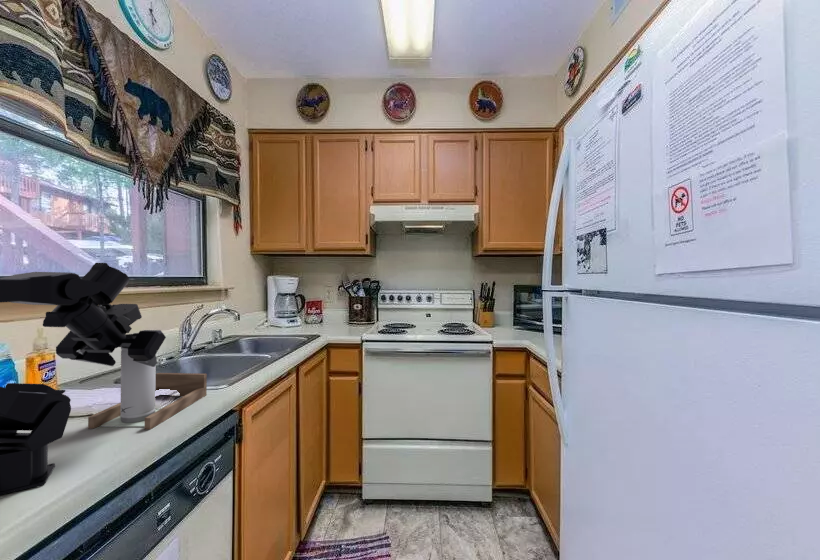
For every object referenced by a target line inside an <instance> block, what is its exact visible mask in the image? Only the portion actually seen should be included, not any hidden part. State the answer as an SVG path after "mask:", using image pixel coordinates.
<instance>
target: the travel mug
mask: <svg viewBox="0 0 820 560" xmlns="http://www.w3.org/2000/svg"><path fill="white" fill-rule="evenodd" d="M138 333H139V332H133V333H126V334H125V335H126V336H137V335H138ZM128 348H129V347H120V349H121V350H120V403H121V415H120V416H121V421H122V422H124V423H135V422H140V421H144V420H145V418H146V417H148V416H149V415H151V414H153V413H155V409H156V398H155V389H156V374H157V372H156V370H157V369H156V366H157V364H156V365H155V367H151V366H148V365H145V364H142V363H138V362H135V361H133V358H130V357H129V356H128Z"/></svg>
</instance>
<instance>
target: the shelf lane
mask: <svg viewBox="0 0 820 560" xmlns="http://www.w3.org/2000/svg"><path fill="white" fill-rule="evenodd" d="M207 378H208V374H207V373H197V372H196V373H193V372H192V373H191V372H190V373H189V372H188V373H187V372H186V373H185V372H156V389H155V391H156V390H159V389H170V390H177V391H178V392H179V393H180V396H179V398H177V399H176V400H174V401H173V402H171V403H169V404H168V405H166V406H164V407H162V408H160V409H159V408H158V409H156V408H155V413H153V414H151V415H149V416H148V417H146V418H145V420H144V421H140V422H135V423H124V422H122V421H121V402H119V403H117V404H114V405H112V406H110V407H108V408H105V409H103V410H101V411H98V412H95V414H92V415H90V416H88V417H87V428H88V430H89V429H90V430H92V429H94V430H95V429H96V428H99V427H100V426H101V427H111V428H115V427H117V428H119V427H120V428H144V430H147V431H148V430H152V429H153V428H156V427H157V426H159V425H160V424H162V423H164V422H165V421H167V420H168V419H171V418H172V417H173V416H175V415H176V414H178V413H180V412H182V411H184V410H185V409H186V408H187V407H190V406H191V405H193V404H195V403H196V402H198V401H200V400H201V399H203V398H204V397H205V396H207V390H208V389H207V383H208V379H207Z"/></svg>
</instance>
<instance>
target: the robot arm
mask: <svg viewBox="0 0 820 560" xmlns="http://www.w3.org/2000/svg"><path fill="white" fill-rule="evenodd" d="M128 283H130V278H129V275H128V274H126V273H125V272H123V271H121V270H119V269H118V268H115V267H114V266H110V265H109V264H108V262H95V263H94V264H93V265H92V266H91V268H90V269H89V270H88V271H87V273H85V275H83V276H82V278H80V275H79V274H77V273H75V272H69V271H68V272H63V271H61V272H60V271H59V272H58V271H54V272H53V271H30V272H24V273H16V274H12V275H9V276H4V277H3V276H2V277H0V303H12V304H13V303H14V304H20V305H21V304H22V305H33V306H36V305H37V306H39V305H40V306H55V308H53V309H52V311H45V317H44V318H43V320H42V327H44V328H67V329H68V330H69V331H68V333H66V335H65V336H64V337H63V339H61V340H60V341H59V343H58V345H56V346H55V354H56V355H57V356H58V357H60V358H61V359H69V360H71V361H78V362H79V361H80V362H83V363H84V362H85V363H90V364H91V363H92V364H97V365H103V366H109V367H114V366H115V365H116V363H117V362H116V360H115V358H114V357H113V356H112V355H111V354H112V353H113V352H114V351H115V349H118V348H121V347H129V348H128V356H129V357H130V358H133V361H135V362H138V363H142V364H145V365H148V366H151V367H155V365H156V366H157V364H158V362H157V352H158V351H159V350H160V348H161V346H162V345H163V343H164V341H165V339H166V338H167V337H166V335H165V333H163V331H162V330H160V329H156V330H155V329H143V330H139V332H137V333H138V335H137V336H126V334H130V332H131V331H132V327H131V325H133V324H134V323H136V322H137V321H138V320H141V319H142V317H143V316H142V313H141V311H140V307H139V306H138V304H136V303H119V304H117V303H116V304H112V303H113V302H114V301H115V299H116V298H117V297H118V296H119V295H120V293H121V292H122V291H123V290H124V288H125V287H126V286H128ZM64 393H66V390H65V389H55V388H53V387H51V386H50V385H49V384H48V385H47V384H44V383H17V382H16V383H11V382H7V383H6V385H5V387H3V386H0V496H3V495H6V494H11V493H14V492H18V491H22V490H23V491H24V490H27V489H31V488H35V487H40V486H43V485H45V484H46V483H47V482H48V480H49V478H50V476H51V474H52V473H53V471H54V469H55V467H56V463H54V462H53V463H49V461H48V458H49V457H48V455H49V454H48V452H49V449H48V447H49V444H51V443H54V442H55V441H57V440H59V439H61V438H63V436H64V434H65V429H66V427H67V423H68V421H69V417H70V414H71V410H72V406H71V401H72V399H71V398H70V397H69V396H68V395H66V394H64ZM18 431H29V432H18Z"/></svg>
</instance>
